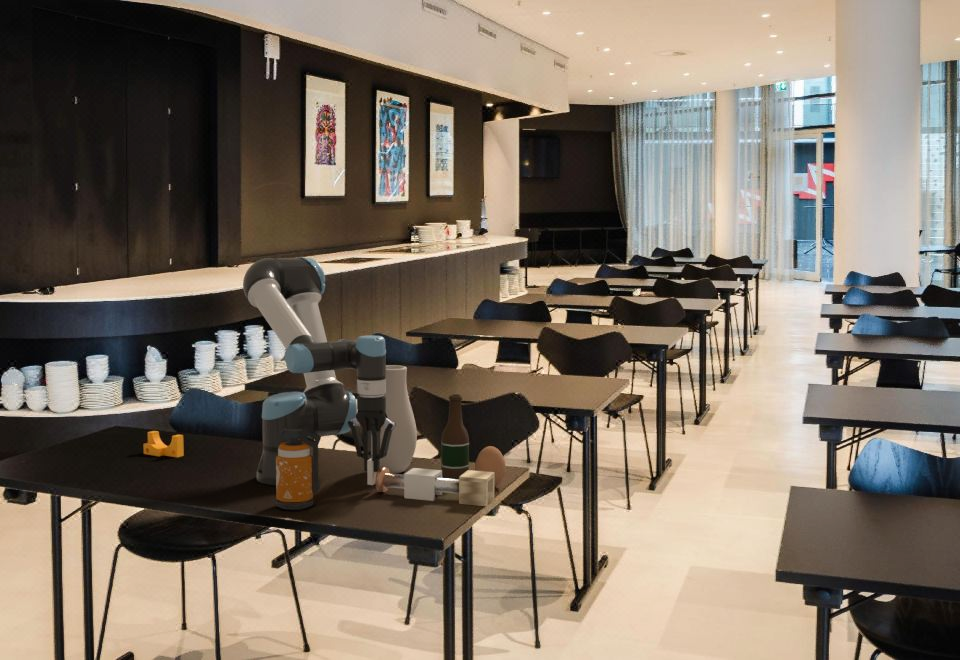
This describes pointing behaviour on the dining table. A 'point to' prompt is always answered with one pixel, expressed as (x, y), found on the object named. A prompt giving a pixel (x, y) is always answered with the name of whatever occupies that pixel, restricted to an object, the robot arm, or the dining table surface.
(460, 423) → the beer bottle
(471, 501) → the socket
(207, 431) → the dining table surface
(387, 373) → the vase
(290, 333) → the robot arm
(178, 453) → the pipe clamp
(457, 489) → the bolt
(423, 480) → the sleeve
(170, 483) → the dining table surface
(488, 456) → the egg
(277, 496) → the canister
